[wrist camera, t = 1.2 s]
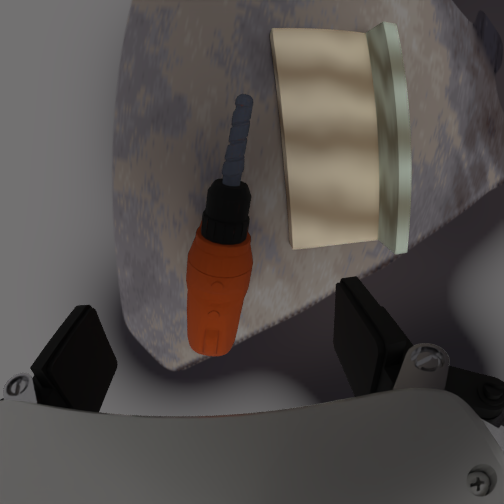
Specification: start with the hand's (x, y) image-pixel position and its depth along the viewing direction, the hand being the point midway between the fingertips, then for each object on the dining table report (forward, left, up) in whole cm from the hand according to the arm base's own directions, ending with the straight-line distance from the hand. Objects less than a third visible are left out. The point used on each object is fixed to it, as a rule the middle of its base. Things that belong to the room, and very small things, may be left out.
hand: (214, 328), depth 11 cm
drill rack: (-6, +12, -20) cm, 24 cm away
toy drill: (0, 0, -21) cm, 21 cm away
